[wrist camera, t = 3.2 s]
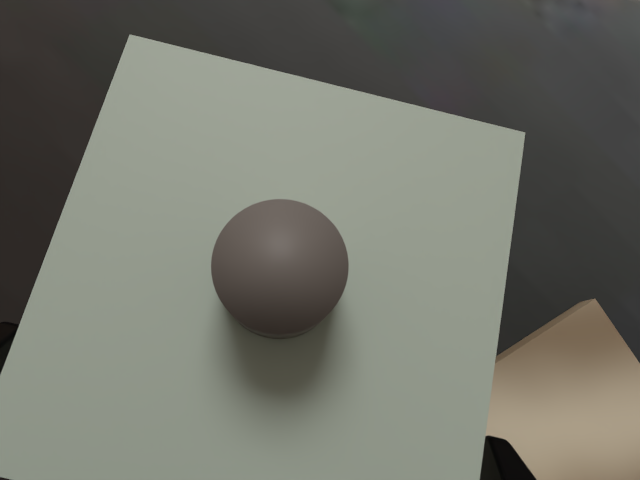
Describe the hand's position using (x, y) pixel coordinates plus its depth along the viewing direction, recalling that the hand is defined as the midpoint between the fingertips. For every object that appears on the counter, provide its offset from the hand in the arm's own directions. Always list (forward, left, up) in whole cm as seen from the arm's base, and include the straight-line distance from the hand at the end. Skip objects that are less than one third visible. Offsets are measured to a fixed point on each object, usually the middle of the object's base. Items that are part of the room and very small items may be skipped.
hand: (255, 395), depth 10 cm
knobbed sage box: (+1, -1, -9) cm, 9 cm away
